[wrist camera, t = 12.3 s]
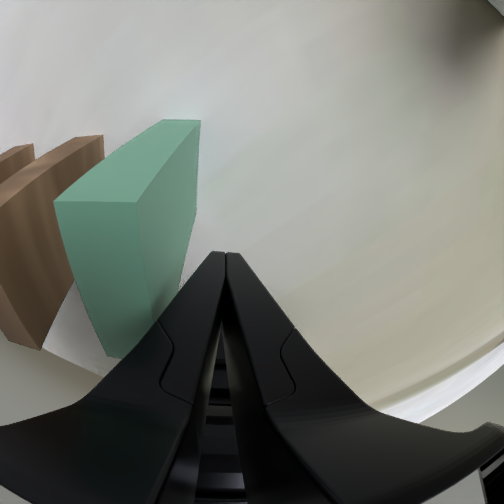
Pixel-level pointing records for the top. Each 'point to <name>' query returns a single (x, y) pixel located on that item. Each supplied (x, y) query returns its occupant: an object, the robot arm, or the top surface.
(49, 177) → the wooden block
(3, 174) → the tile
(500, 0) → the skincare box
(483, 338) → the top surface
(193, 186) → the tile
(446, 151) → the top surface
